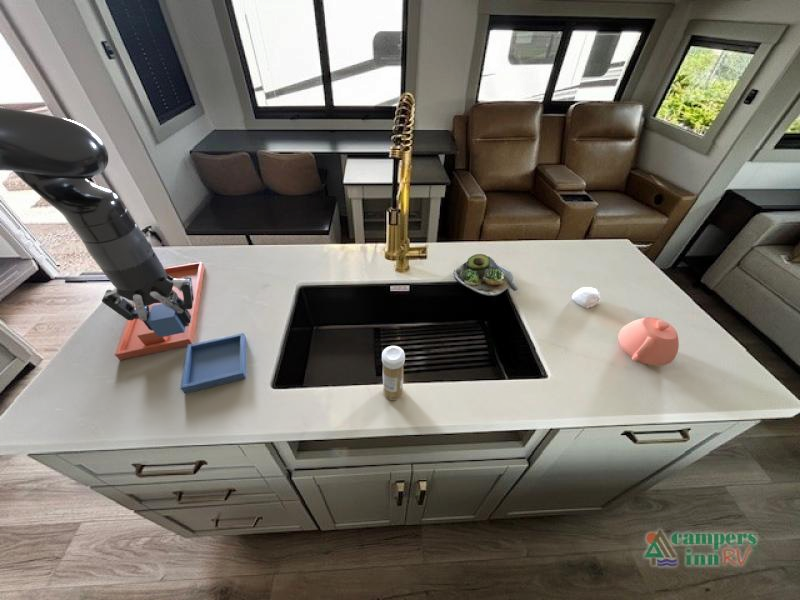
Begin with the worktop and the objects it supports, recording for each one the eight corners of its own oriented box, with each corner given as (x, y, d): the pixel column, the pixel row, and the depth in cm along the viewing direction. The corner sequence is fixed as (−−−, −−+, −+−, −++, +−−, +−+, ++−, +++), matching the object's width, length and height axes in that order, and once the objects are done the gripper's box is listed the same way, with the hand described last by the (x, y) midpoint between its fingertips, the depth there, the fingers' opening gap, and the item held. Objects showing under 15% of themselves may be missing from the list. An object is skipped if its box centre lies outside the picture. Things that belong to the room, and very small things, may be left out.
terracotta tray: (119, 360, 76) (114, 354, 75) (149, 276, 100) (145, 270, 98) (192, 344, 80) (189, 339, 79) (204, 267, 104) (202, 261, 102)
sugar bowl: (675, 353, 82) (701, 325, 75) (655, 384, 75) (682, 356, 68) (625, 326, 89) (645, 298, 82) (602, 352, 82) (622, 324, 75)
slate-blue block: (158, 337, 62) (146, 321, 59) (162, 321, 65) (151, 305, 62) (184, 332, 63) (174, 316, 60) (187, 316, 67) (177, 300, 63)
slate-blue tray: (184, 393, 70) (180, 388, 69) (191, 350, 79) (187, 344, 78) (246, 378, 74) (243, 373, 72) (246, 338, 82) (243, 332, 81)
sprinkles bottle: (407, 392, 72) (409, 354, 63) (392, 404, 70) (392, 367, 61) (393, 379, 74) (393, 341, 65) (378, 391, 72) (376, 353, 63)
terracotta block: (146, 347, 79) (136, 335, 76) (150, 334, 82) (141, 322, 79) (167, 343, 80) (158, 331, 77) (170, 330, 83) (162, 318, 80)
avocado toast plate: (529, 283, 102) (534, 271, 99) (497, 309, 93) (501, 297, 89) (479, 256, 112) (482, 245, 109) (446, 277, 103) (447, 265, 100)
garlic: (583, 289, 100) (588, 280, 97) (603, 302, 96) (609, 293, 93) (566, 298, 97) (571, 289, 94) (586, 312, 93) (592, 302, 90)
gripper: (63, 277, 48) (126, 349, 60) (171, 260, 52) (211, 331, 63) (81, 250, 53) (136, 321, 65) (177, 236, 57) (213, 306, 69)
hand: (173, 325), depth 64 cm, fingers closed on slate-blue block, 4 cm apart
